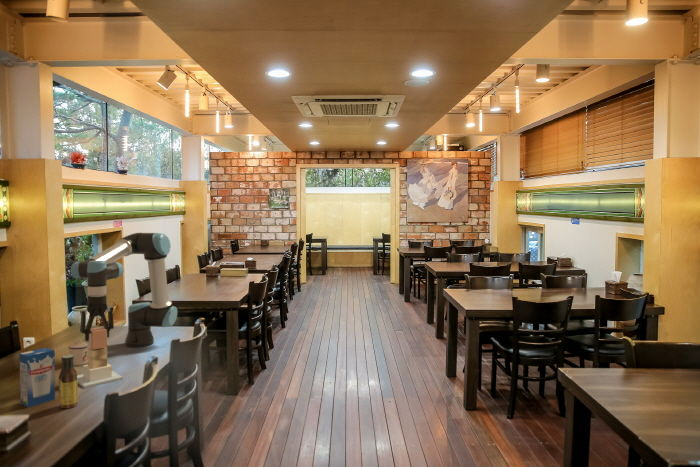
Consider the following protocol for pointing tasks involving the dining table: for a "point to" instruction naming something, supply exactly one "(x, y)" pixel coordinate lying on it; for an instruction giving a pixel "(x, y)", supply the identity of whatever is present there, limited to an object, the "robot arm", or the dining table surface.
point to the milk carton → (37, 377)
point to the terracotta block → (98, 338)
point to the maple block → (97, 357)
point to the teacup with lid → (79, 352)
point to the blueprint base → (89, 384)
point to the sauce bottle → (68, 383)
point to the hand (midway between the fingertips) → (97, 346)
